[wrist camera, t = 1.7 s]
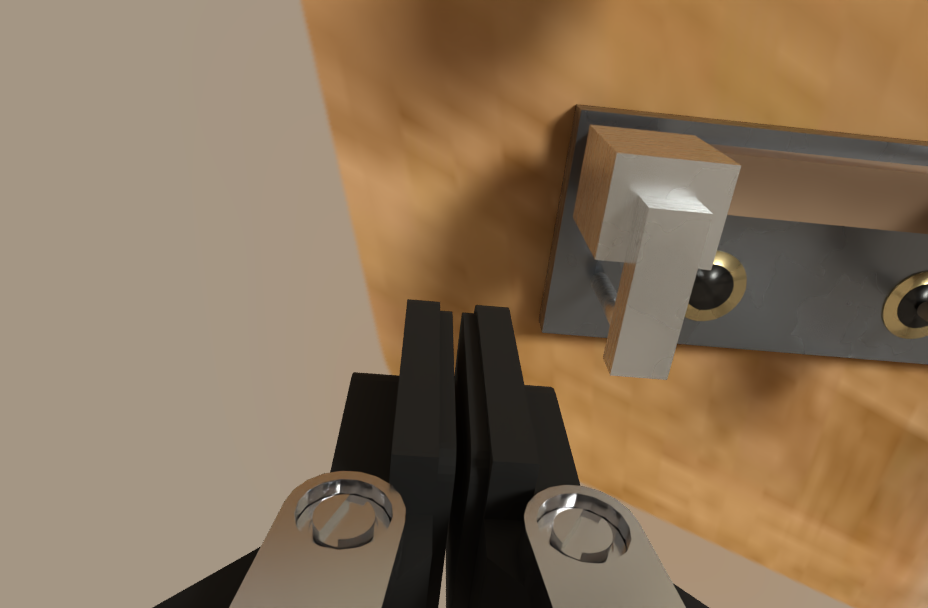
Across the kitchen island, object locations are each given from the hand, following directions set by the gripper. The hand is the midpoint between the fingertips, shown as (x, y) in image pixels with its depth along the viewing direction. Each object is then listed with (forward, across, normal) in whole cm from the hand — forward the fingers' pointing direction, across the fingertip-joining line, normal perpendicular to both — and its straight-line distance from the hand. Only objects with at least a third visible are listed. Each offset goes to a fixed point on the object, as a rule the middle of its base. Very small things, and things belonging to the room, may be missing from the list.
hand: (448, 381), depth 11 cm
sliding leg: (+17, -7, +2) cm, 18 cm away
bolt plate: (+19, -16, +3) cm, 25 cm away
